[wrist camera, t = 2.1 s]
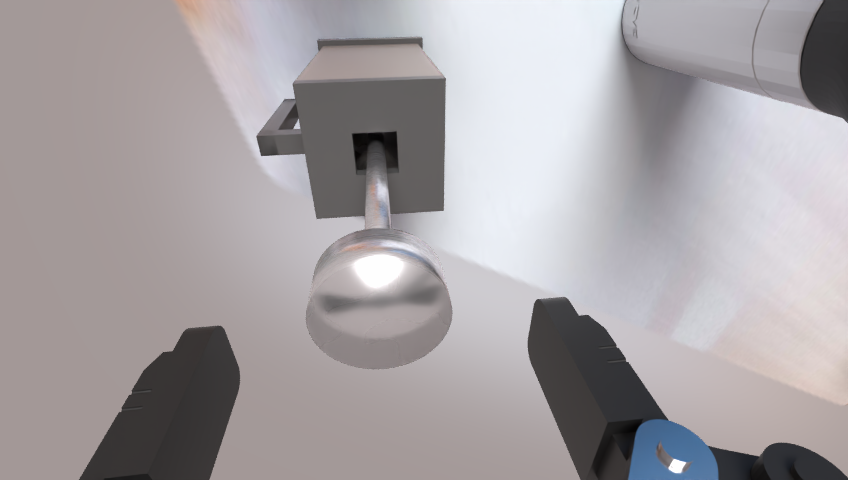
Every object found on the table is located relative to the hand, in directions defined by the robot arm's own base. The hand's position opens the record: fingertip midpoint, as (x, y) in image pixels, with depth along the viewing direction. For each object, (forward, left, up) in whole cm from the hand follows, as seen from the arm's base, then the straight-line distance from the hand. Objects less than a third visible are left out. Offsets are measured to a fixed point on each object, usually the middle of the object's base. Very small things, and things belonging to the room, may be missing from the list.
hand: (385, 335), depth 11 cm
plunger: (0, 0, -18) cm, 18 cm away
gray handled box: (+1, 0, -30) cm, 30 cm away
